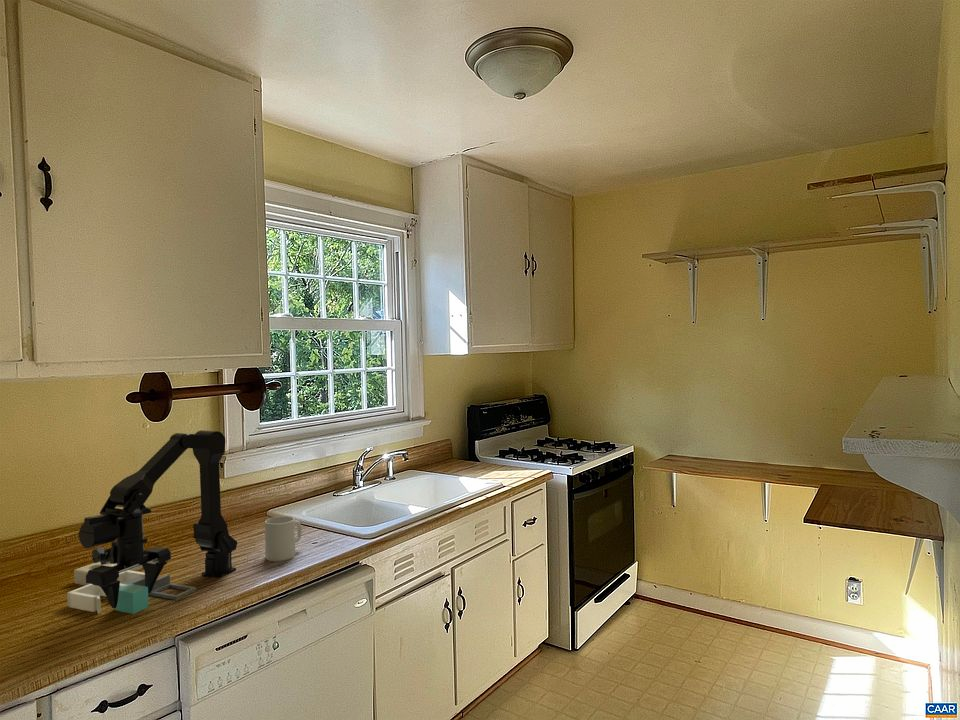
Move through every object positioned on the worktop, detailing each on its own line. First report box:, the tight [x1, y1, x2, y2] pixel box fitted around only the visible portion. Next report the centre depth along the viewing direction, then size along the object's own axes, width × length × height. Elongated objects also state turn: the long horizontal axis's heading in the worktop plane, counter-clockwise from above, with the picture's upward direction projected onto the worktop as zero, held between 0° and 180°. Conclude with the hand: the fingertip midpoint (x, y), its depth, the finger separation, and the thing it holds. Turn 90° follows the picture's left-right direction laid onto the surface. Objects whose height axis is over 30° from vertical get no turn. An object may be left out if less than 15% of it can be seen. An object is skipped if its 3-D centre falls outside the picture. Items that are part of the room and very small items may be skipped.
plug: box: [115, 584, 149, 615], centre depth 148 cm, size 7×4×5 cm, turn 68°
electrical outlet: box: [73, 561, 143, 586], centre depth 171 cm, size 7×4×18 cm
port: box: [66, 570, 145, 615], centre depth 154 cm, size 11×16×4 cm
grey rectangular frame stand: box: [148, 574, 197, 601], centre depth 157 cm, size 10×6×3 cm, turn 68°
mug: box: [264, 515, 303, 562], centre depth 184 cm, size 12×8×11 cm
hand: (131, 600), depth 147 cm, fingers open, 9 cm apart
